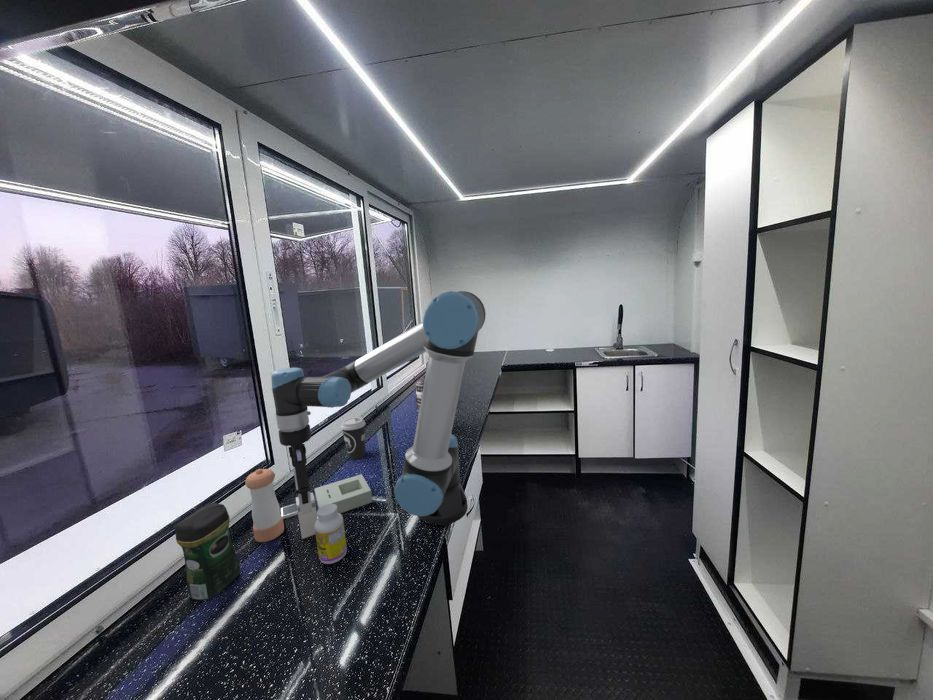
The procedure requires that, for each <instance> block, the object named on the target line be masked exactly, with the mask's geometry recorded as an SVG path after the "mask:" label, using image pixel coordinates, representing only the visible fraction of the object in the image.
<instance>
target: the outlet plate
mask: <svg viewBox="0 0 933 700" xmlns="http://www.w3.org/2000/svg"><path fill="white" fill-rule="evenodd" d="M314 495H315V496H314V498H315V503H316V506H317V510H318V509H319V508H320V507H322V506H323V505H326V504H336V505H337V509H338V513H340V514H343V513H345V512H348V511H350V510H351V511H352V510H354V509H356V508H360V507H362V506H366V505H368V504H370V503H371V504H372V503H373V495H372V490H371V488H370V486H369V485H368V483H367V480H366V479H365V477H364V476H363V474H362V473H361V474H358V475H357V474H356V475H354V476H351V477H347V478H343V479H342V480H337V481H335V482H334V481H333V482H330V483H327V484H325V485H321V486H319V487H315V488H314Z"/></svg>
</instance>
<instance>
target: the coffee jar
mask: <svg viewBox="0 0 933 700" xmlns="http://www.w3.org/2000/svg"><path fill="white" fill-rule="evenodd" d="M174 532H175V541H176V543H177V544H178V545H179V546H180V547H181V549H182V552H183V557H184V563H185V564H184V565H185V574H186V584H187V585H186V586H187V592H188V596H189V597H190V598H191V599H193V600H196V601H206V600H210V599H212V598H215V597H216V596H218V595H219V594H220V593H222V592H223V591H224V590H225V589H226V588H228V587H229V585H231V584H232V583H233V582H234V580H236V579H237V578H238V576H239V575H240V573H241V564H240V562H239V560H238V556H237V554H236V551H235V548H234V544H233V541H232V537H231V534H230V515H229V511H228V509H227V507H226V506H225V505H224V504H221V503H216V502H215V503H214V502H209V503H207V505H205V506H203V507H201V508H199V509H198V510H195V512H193V513H191V514H190V515H188V516H187V517H185V518H184V519H182V520H181V521H180V522H178V523H177V524H176V525H175V527H174Z"/></svg>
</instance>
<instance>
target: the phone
mask: <svg viewBox="0 0 933 700" xmlns="http://www.w3.org/2000/svg"><path fill="white" fill-rule="evenodd" d="M280 515H281V516H282V517H283V520H285V519H289V518H292V517H294V516H298V511H297V505H296V503H292V504H290V505H286V506H283V507H281V508H280Z"/></svg>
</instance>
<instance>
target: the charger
mask: <svg viewBox="0 0 933 700" xmlns="http://www.w3.org/2000/svg"><path fill="white" fill-rule="evenodd" d="M314 495H315V494H314V492H313V491H312V492H310V496H311V504H312V512H310V513H307V514H304V515H301V512H300V505H299V497H298V496H296V497H295V504H296V505H297V511H298V515H297V516H298V522H299V529H300V535H301V540H304V539H306V538H309V537H311V536H314V535H315V536H316V533H315V522H316V520H317V519H318V517H317V503H316V498H315V496H314Z"/></svg>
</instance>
